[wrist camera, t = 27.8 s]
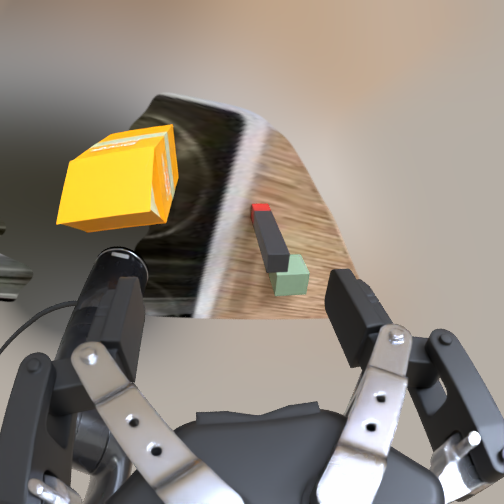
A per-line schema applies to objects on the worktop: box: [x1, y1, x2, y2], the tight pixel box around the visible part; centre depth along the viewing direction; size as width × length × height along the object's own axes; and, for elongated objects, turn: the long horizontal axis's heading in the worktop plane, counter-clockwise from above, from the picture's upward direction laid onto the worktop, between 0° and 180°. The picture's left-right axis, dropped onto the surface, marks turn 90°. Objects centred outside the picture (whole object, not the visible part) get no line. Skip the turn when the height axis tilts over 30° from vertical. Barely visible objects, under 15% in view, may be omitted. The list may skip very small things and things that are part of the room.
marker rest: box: [269, 254, 310, 296], centre depth 50 cm, size 4×5×6 cm
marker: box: [251, 204, 290, 273], centre depth 41 cm, size 14×2×2 cm
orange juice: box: [57, 124, 179, 233], centre depth 31 cm, size 8×9×20 cm
